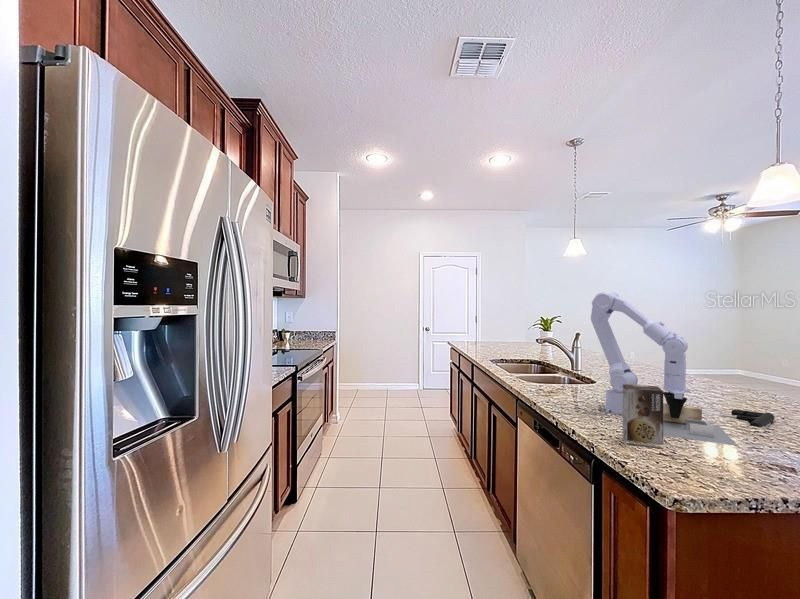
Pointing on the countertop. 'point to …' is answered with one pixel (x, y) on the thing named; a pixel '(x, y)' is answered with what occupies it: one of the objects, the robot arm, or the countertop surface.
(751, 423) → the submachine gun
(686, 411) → the slat
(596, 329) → the robot arm
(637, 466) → the countertop surface
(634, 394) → the coffee box
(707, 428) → the end cap
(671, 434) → the board
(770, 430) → the countertop surface
